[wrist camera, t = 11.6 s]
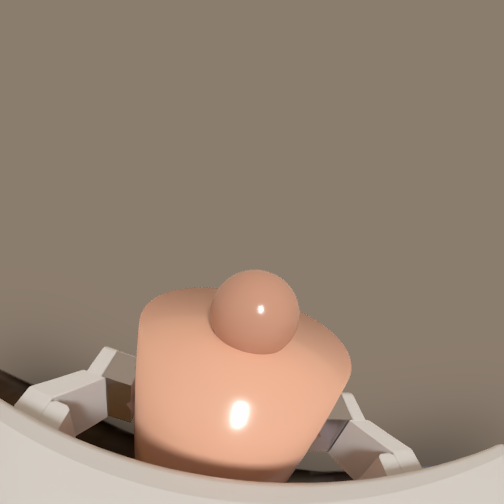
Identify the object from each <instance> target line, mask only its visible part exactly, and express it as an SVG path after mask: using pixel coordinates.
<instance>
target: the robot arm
mask: <svg viewBox="0 0 504 504" xmlns="http://www.w3.org/2000/svg"><path fill="white" fill-rule="evenodd" d="M136 358H137V356H134V355H131V354H128V353H125V352H122V351H118V350H115V349H113V348H110V347H107V346H106V347H104V348H103V349H102V350H101V352H100V353H99V355H98V356H97V357H96V359H95V360H94V362H93V363H92V364H91V366H90V367H89V369H88V370H87V371H86V370H81V371H78V372H75V373H72V374H69V375H65V376H62V377H59V378H56V379H53V380H50V381H46V382H43V383H40V384H36V385H33V386H30V387H29V388H28V389H27V390H26V392H25V393H24V394H23V395H22V397H21V398H20V399H19V400H18V402H17V403H16V404H15V405H14V407H13V406H12V405H10V404H8V403H7V402H5V401H3V400H2V399H0V504H504V445H503V444H499V445H496V446H493V447H491V448H489V449H486V450H484V451H481V452H478V453H475V454H473V455H470V456H467V457H464V458H461V459H457V460H454V461H451V462H447V463H444V464H440V465H436V466H433V467H429V468H425V469H422V467H421V466H420V463H419V462H418V460H417V458H416V456H415V455H414V453H413V451H412V449H410V448H409V447H407V446H406V445H404V444H402V443H401V442H400V441H398V440H397V439H395V438H394V437H392V436H391V435H389V434H388V433H386V432H385V431H383V430H382V429H380V428H379V427H378V426H376V425H375V424H373V423H372V422H370V421H369V420H365V419H364V417H363V415H362V412H361V411H360V408H359V406H358V404H357V403H356V400H355V398H354V396H353V395H352V394H351V393H341V395H340V397H339V399H338V400H337V402H336V404H335V406H334V408H333V409H332V411H331V413H330V415H329V416H328V418H327V420H326V422H325V423H324V425H323V427H322V428H321V430H320V432H319V433H318V435H317V437H316V438H315V440H314V441H313V443H312V445H311V446H310V448H309V449H308V451H311V452H328V454H329V455H330V456H331V457H332V458H333V459H334V460H335V461H336V462H337V463H338V464H339V465H340V466H341V467H342V468H343V469H344V470H345V471H346V473H347V474H348V475H349V476H350V477H351V478H352V479H353V480H352V481H340V482H323V483H274V482H257V481H245V480H235V479H226V478H219V477H212V476H206V475H200V474H194V473H189V472H184V471H179V470H174V469H170V468H166V467H161V466H157V465H154V464H150V463H146V462H142V461H139V460H136V459H132V458H129V457H126V456H123V455H119V454H116V453H113V452H111V451H108V450H105V449H102V448H99V447H97V446H94V445H92V444H89V443H86V442H84V441H81V440H79V439H77V438H76V437H75V436H76V435H78V434H80V433H82V432H83V431H85V430H87V429H88V428H90V427H92V426H93V425H95V424H97V423H98V422H100V421H102V420H103V419H105V418H106V417H108V416H111V417H114V418H117V419H120V420H124V421H127V422H131V421H132V418H133V416H134V406H135V376H136Z"/></svg>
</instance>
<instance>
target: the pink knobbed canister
mask: <svg viewBox="0 0 504 504" xmlns="http://www.w3.org/2000/svg"><path fill="white" fill-rule="evenodd" d="M350 374H351V361H350V357H349V354H348V352H347V350H346V348H345V347H344V345H343V344H342V343H341V341H340V340H339V339H338V338H337V337H336V336H335V335H334V334H333V333H332V332H331V331H330V330H329V329H327V328H326V327H325V326H323V325H322V324H321V323H319V322H318V321H316V320H315V319H313V318H311V317H309V316H308V315H306V314H304V313H302V312H300V310H299V304H298V301H297V298H296V295H295V293H294V292H293V290H292V289H291V287H290V286H289V285H288V284H287V283H286V282H285V281H284V280H283V279H282V278H280V277H279V276H277V275H275V274H273V273H271V272H268V271H263V270H247V271H243V272H239V273H237V274H235V275H233V276H231V277H230V278H228V279H227V280H226V281H225V282H223V284H222V285H221V286H220V287H219V288H186V289H179V290H175V291H171V292H167V293H165V294H162V295H160V296H158V297H156V298H154V299H153V300H152V301H150V302H149V303H148V304H147V305H146V307H145V308H144V309H143V311H142V313H141V317H140V322H139V332H138V345H137V358H136V376H135V406H134V440H135V459H136V460H139V461H142V462H146V463H150V464H154V465H157V466H161V467H166V468H170V469H174V470H179V471H184V472H189V473H194V474H200V475H206V476H212V477H219V478H226V479H235V480H245V481H257V482H274V483H286V482H287V480H288V479H289V477H290V476H291V475H292V473H293V472H294V470H295V469H296V467H297V466H298V464H299V463H300V462H301V460H302V458H303V457H304V455H305V454H306V452H307V451H308V449H309V448H310V446H311V445H312V443H313V441H314V440H315V438H316V437H317V435H318V433H319V432H320V430H321V428H322V427H323V425H324V423H325V422H326V420H327V418H328V416H329V415H330V413H331V411H332V409H333V408H334V406H335V404H336V402H337V400H338V399H339V397H340V395H341V393H342V391H343V389H344V387H345V385H346V383H347V381H348V379H349V377H350Z"/></svg>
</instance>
